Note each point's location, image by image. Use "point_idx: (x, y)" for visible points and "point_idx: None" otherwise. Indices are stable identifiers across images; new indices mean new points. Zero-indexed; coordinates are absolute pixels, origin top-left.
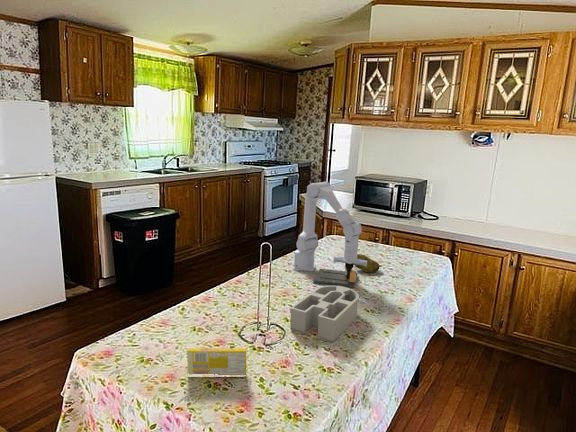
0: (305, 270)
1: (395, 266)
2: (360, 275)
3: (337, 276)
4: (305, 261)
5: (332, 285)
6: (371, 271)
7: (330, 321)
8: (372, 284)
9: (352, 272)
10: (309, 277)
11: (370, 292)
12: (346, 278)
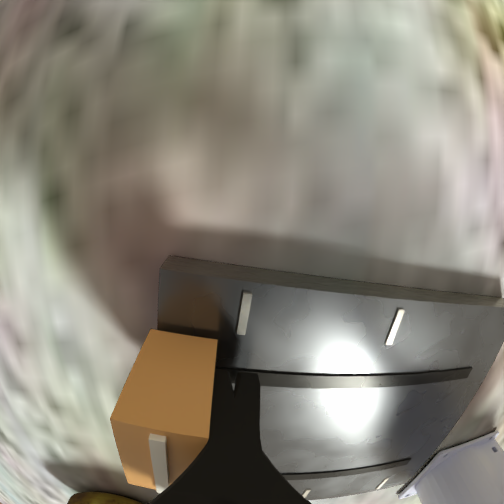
0: (465, 444)
1: (46, 501)
2: None
3: (329, 437)
4: (484, 477)
5: (394, 286)
6: (98, 494)
7: None
8: (37, 358)
9: (163, 437)
10: (484, 382)
11: (22, 179)
12: (257, 378)
